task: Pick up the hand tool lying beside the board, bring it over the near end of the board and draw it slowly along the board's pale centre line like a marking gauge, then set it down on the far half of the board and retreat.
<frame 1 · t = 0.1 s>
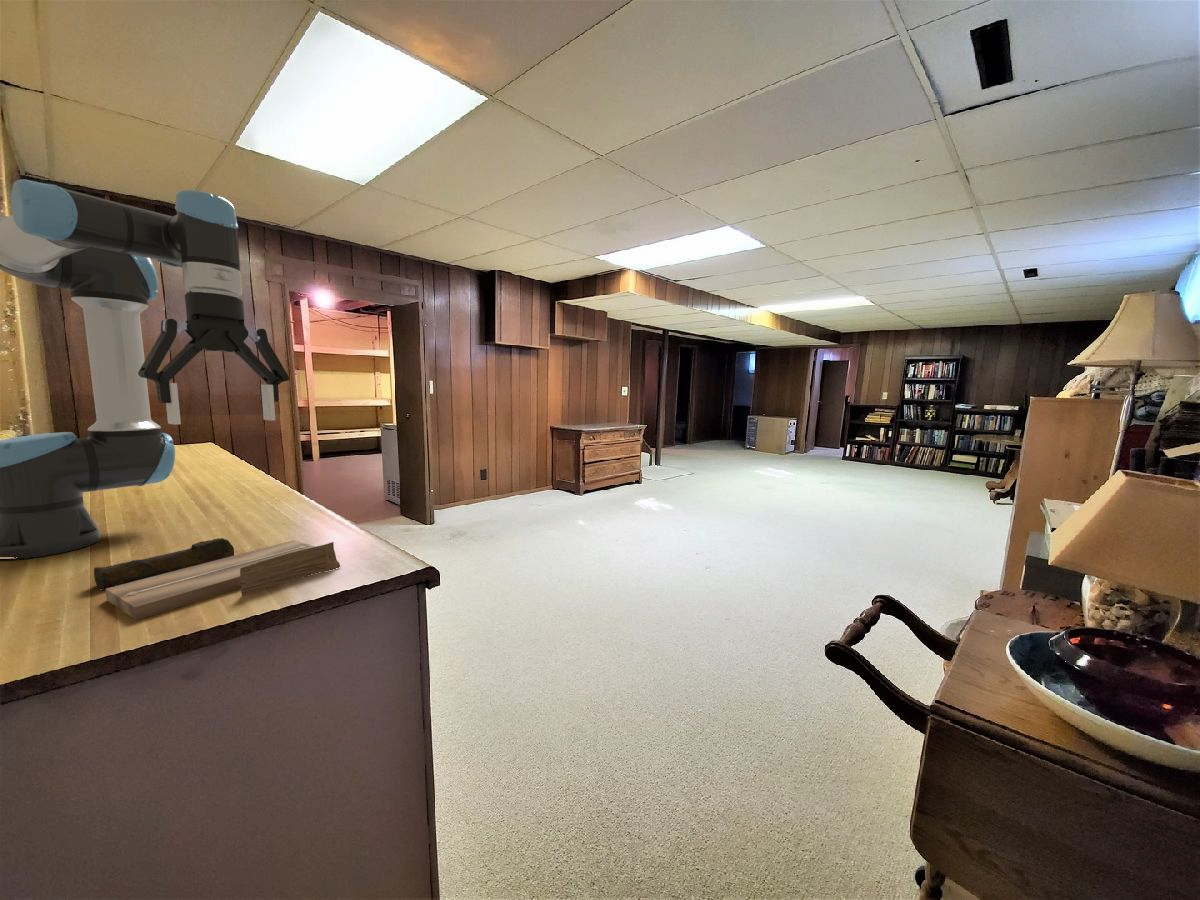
hand: (225, 422, 80), 28 cm above the table, tool pointing down, fingers open, 13 cm apart
wood plank: (293, 582, 82), on the table
board: (230, 578, 82), on the table
hand tool: (170, 573, 85), on the table
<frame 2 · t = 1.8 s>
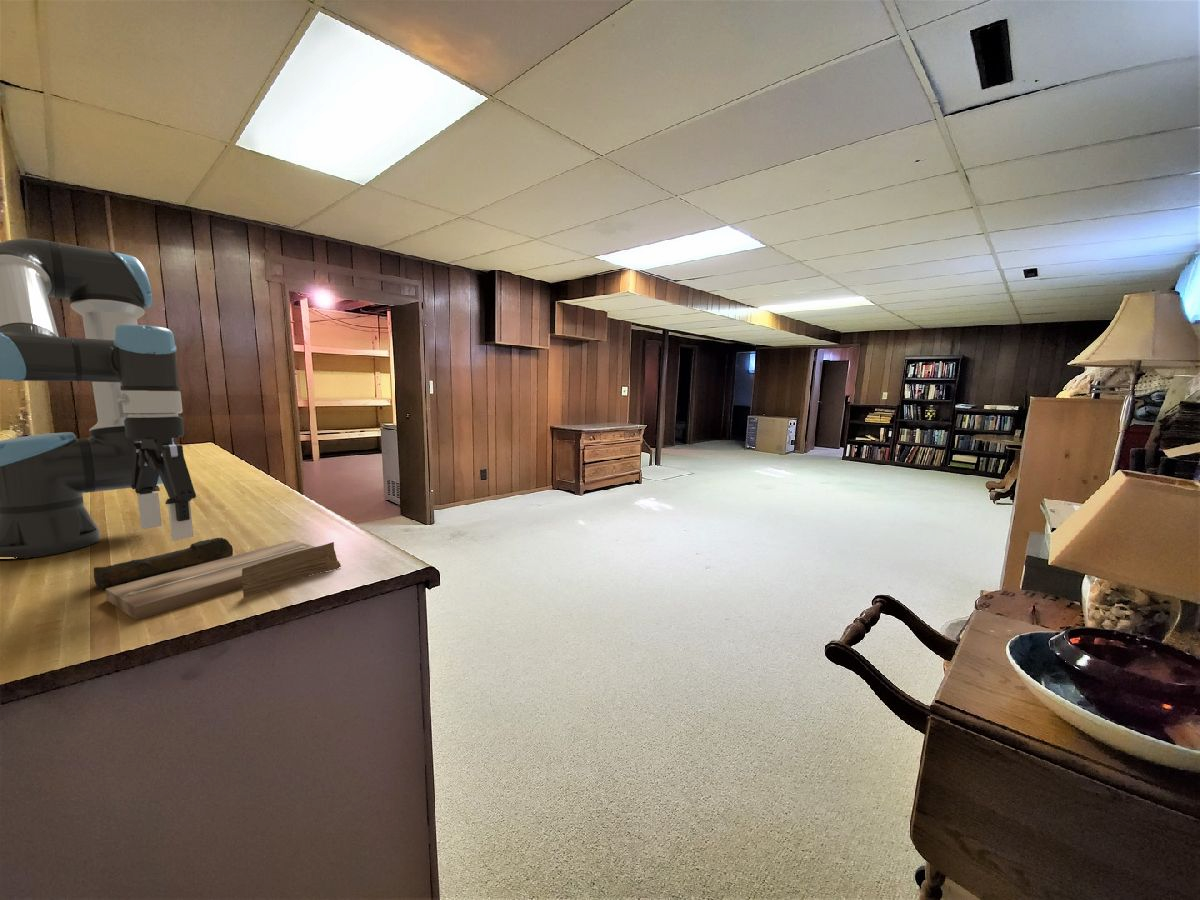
hand: (166, 532, 84), 7 cm above the table, tool pointing down, fingers open, 13 cm apart
nothing on the table moved.
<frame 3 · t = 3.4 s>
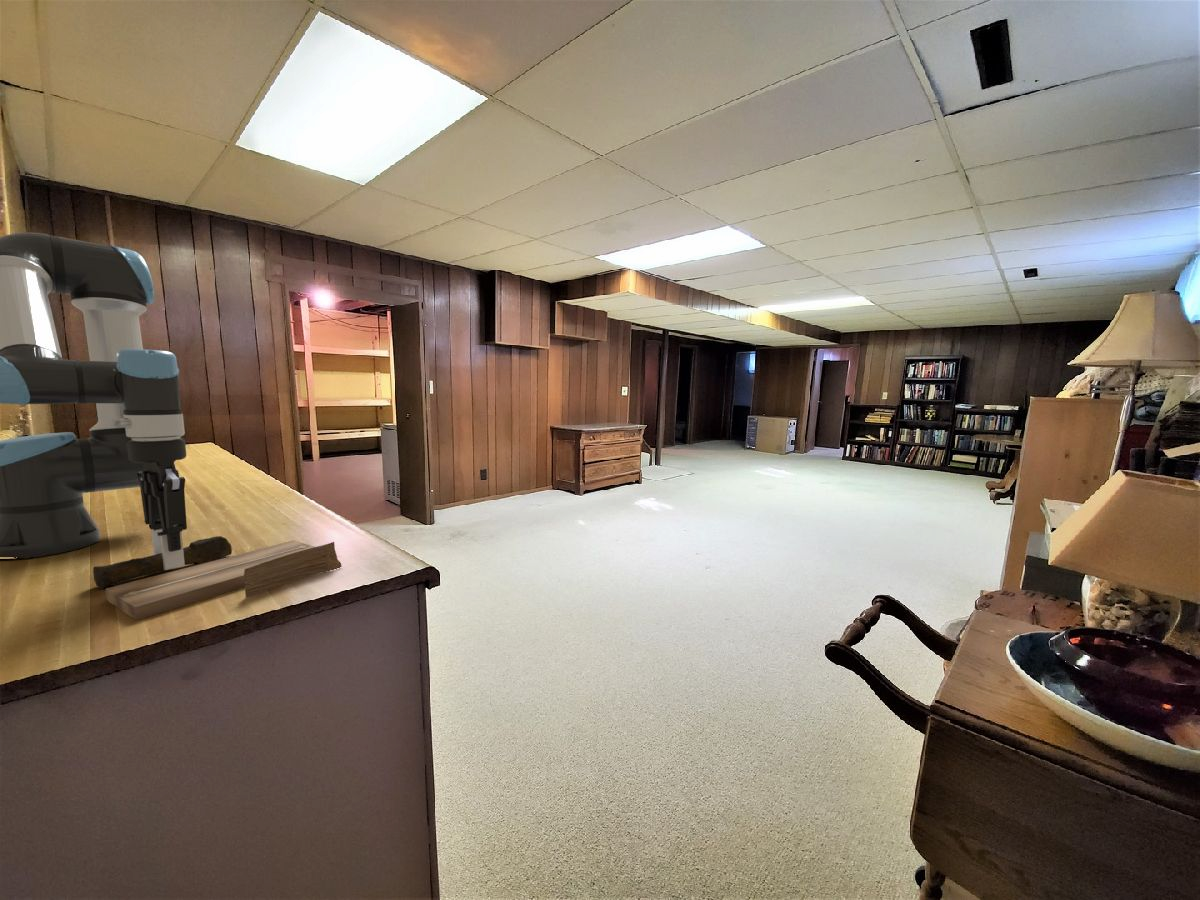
hand: (169, 564, 85), 1 cm above the table, tool pointing down, fingers closed on hand tool, 3 cm apart
hand tool: (169, 571, 85), on the table, touching gripper
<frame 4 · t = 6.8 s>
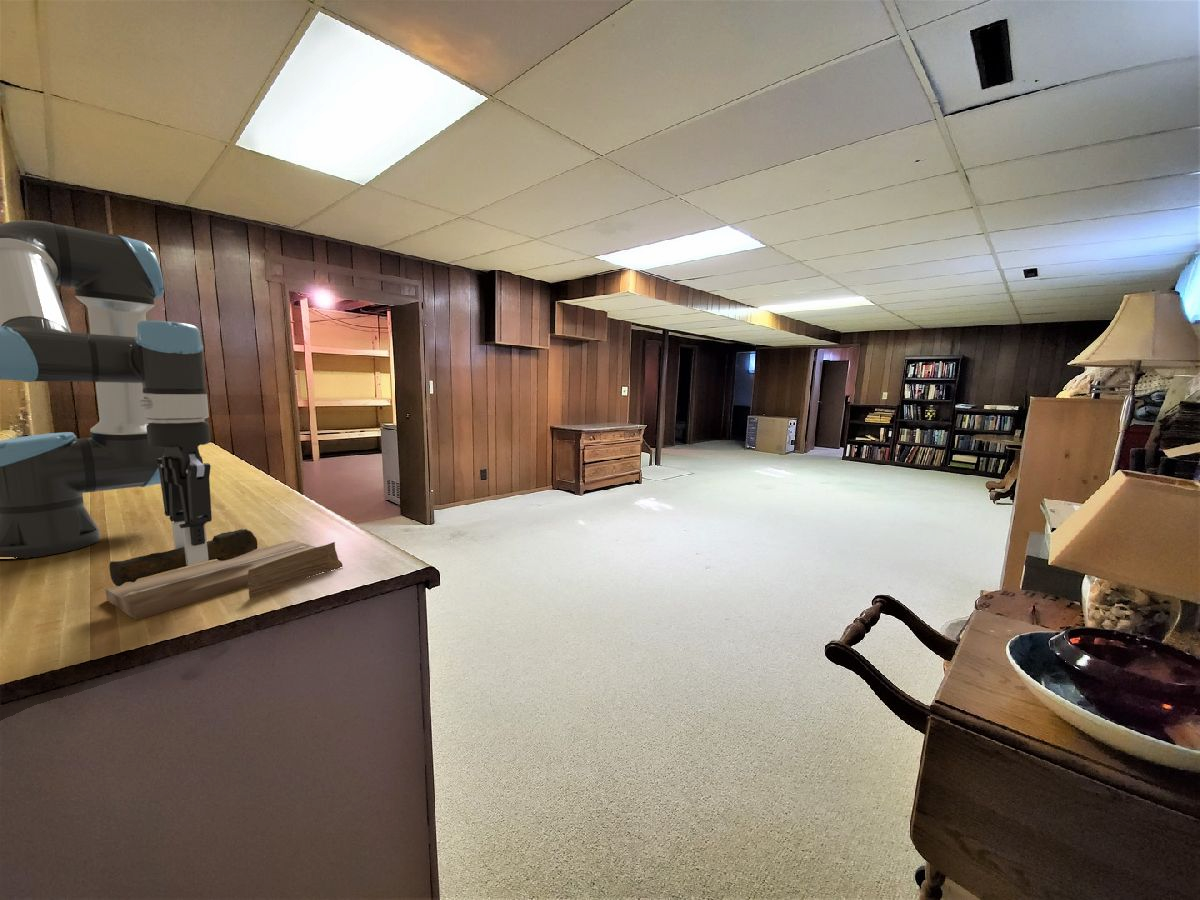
hand: (192, 560, 77), 5 cm above the table, tool pointing down, fingers closed on hand tool, 3 cm apart
hand tool: (191, 567, 78), point 4 cm above the table, touching gripper
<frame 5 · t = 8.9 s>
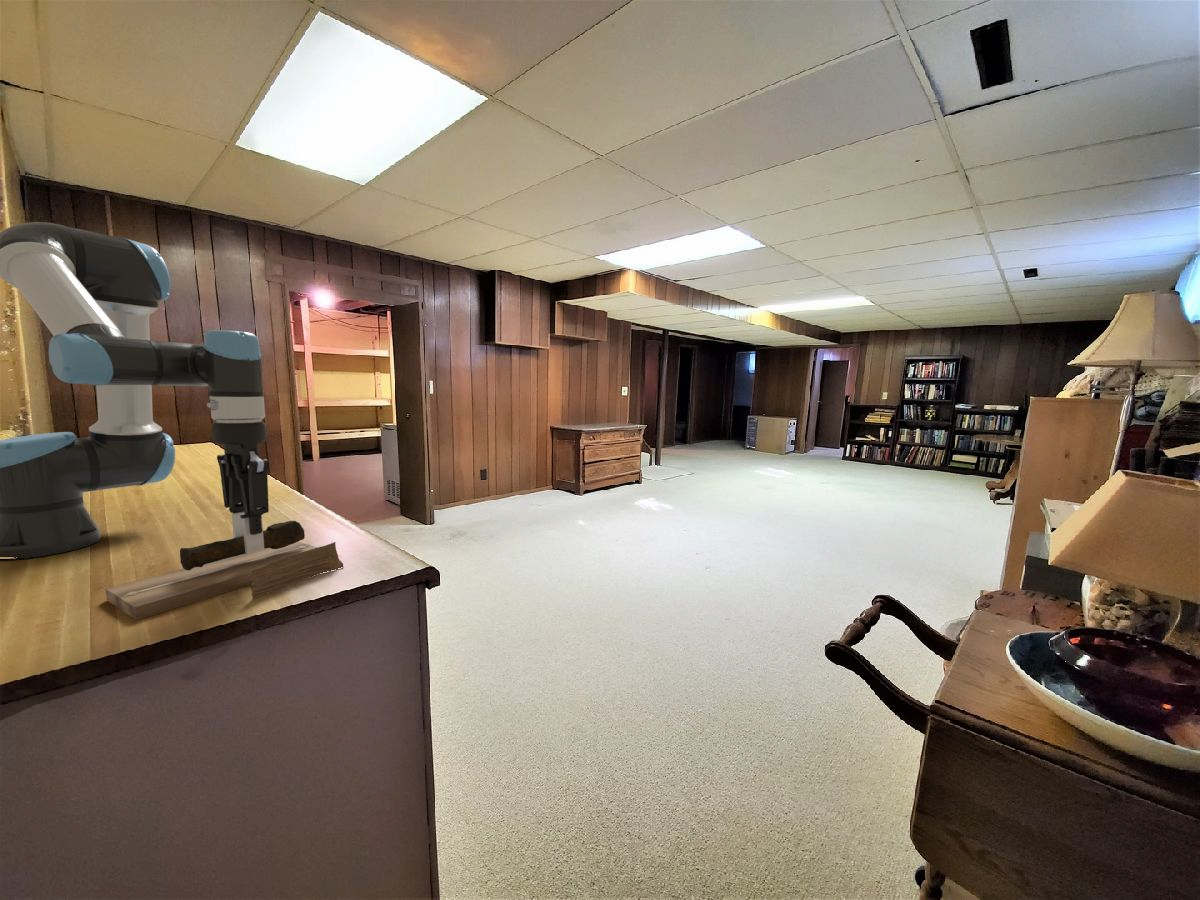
hand: (249, 548, 84), 5 cm above the table, tool pointing down, fingers closed on hand tool, 3 cm apart
hand tool: (248, 555, 85), point 3 cm above the table, touching gripper
when the fingers open (4 cm above the table, at t = 10.3 s): hand tool drops 1 cm, resting on board.
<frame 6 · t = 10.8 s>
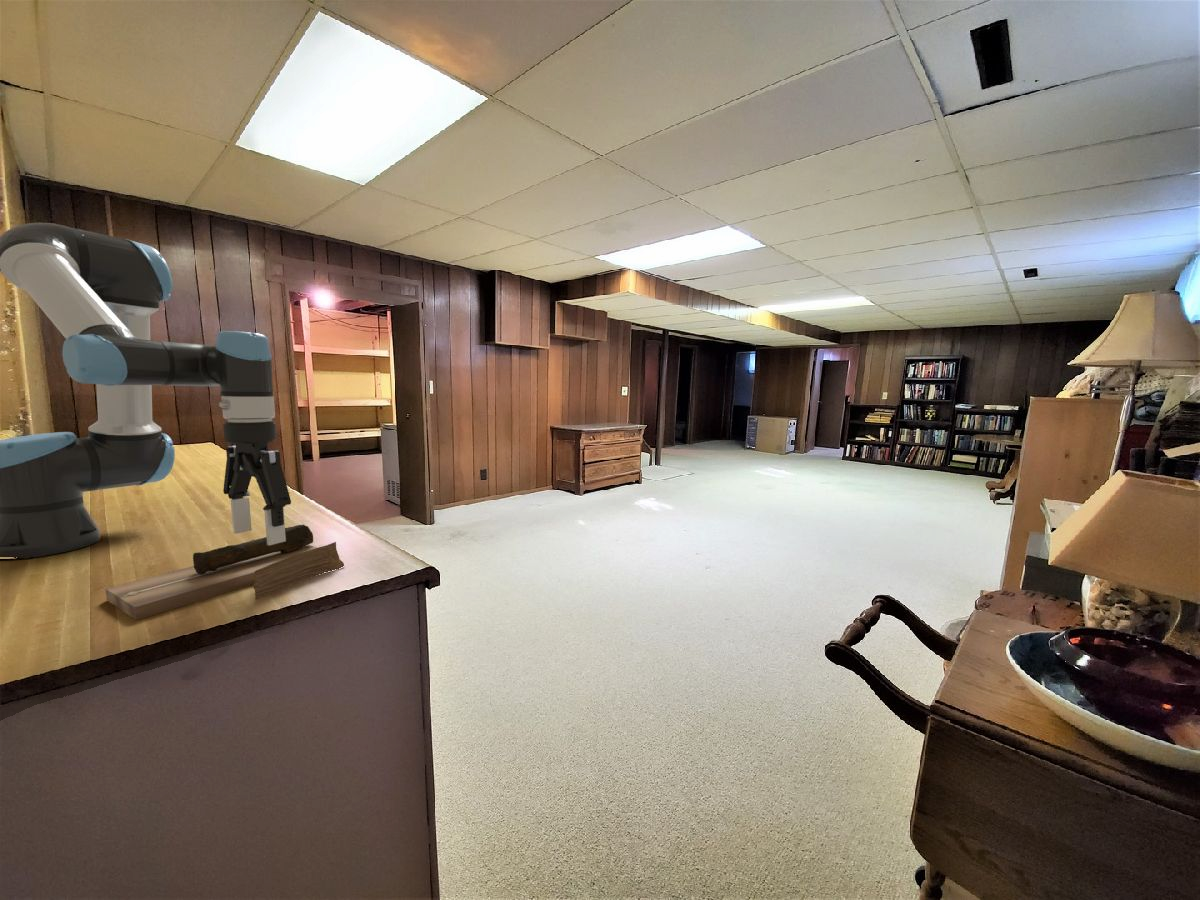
hand: (259, 537, 86), 6 cm above the table, tool pointing down, fingers open, 11 cm apart
hand tool: (259, 559, 86), point 2 cm above the table, touching board
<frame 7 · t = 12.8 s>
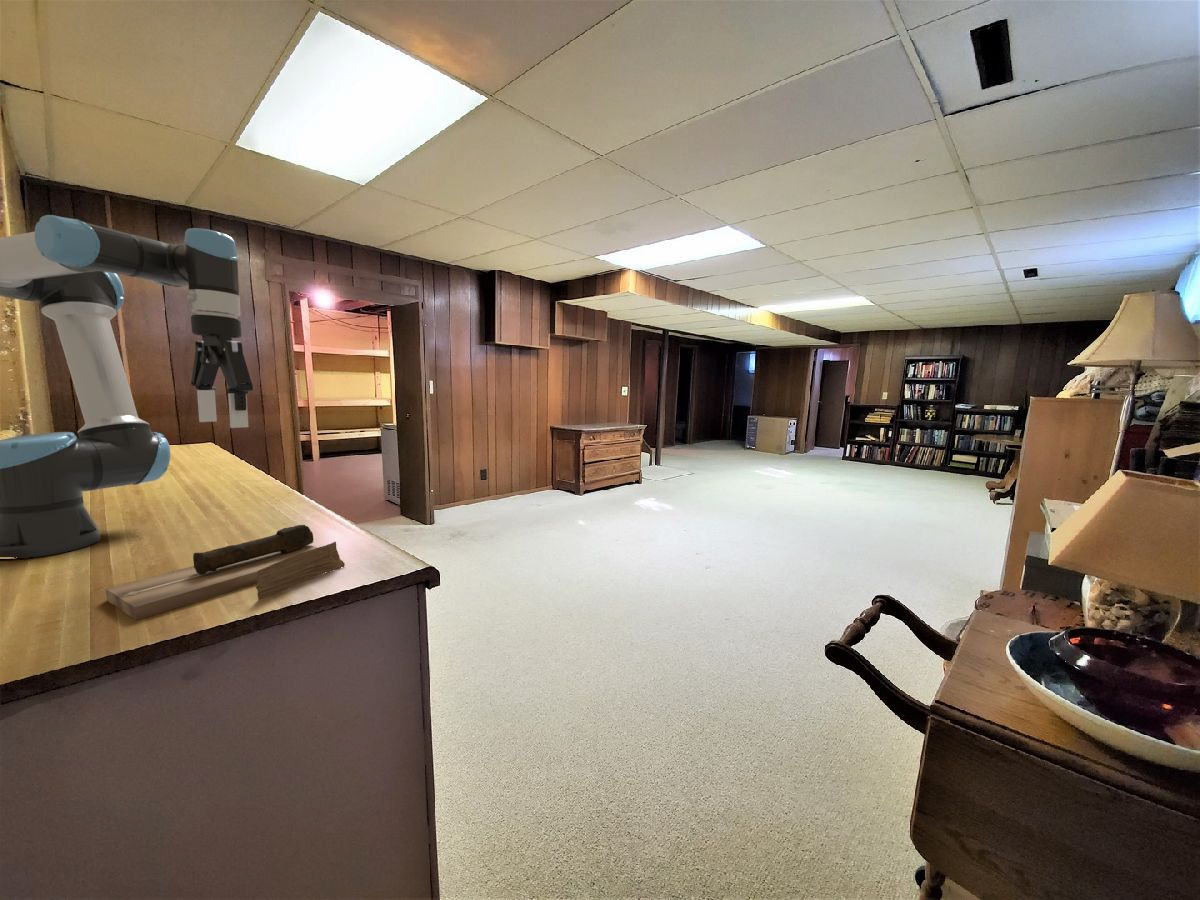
hand: (223, 424, 93), 26 cm above the table, tool pointing down, fingers open, 13 cm apart
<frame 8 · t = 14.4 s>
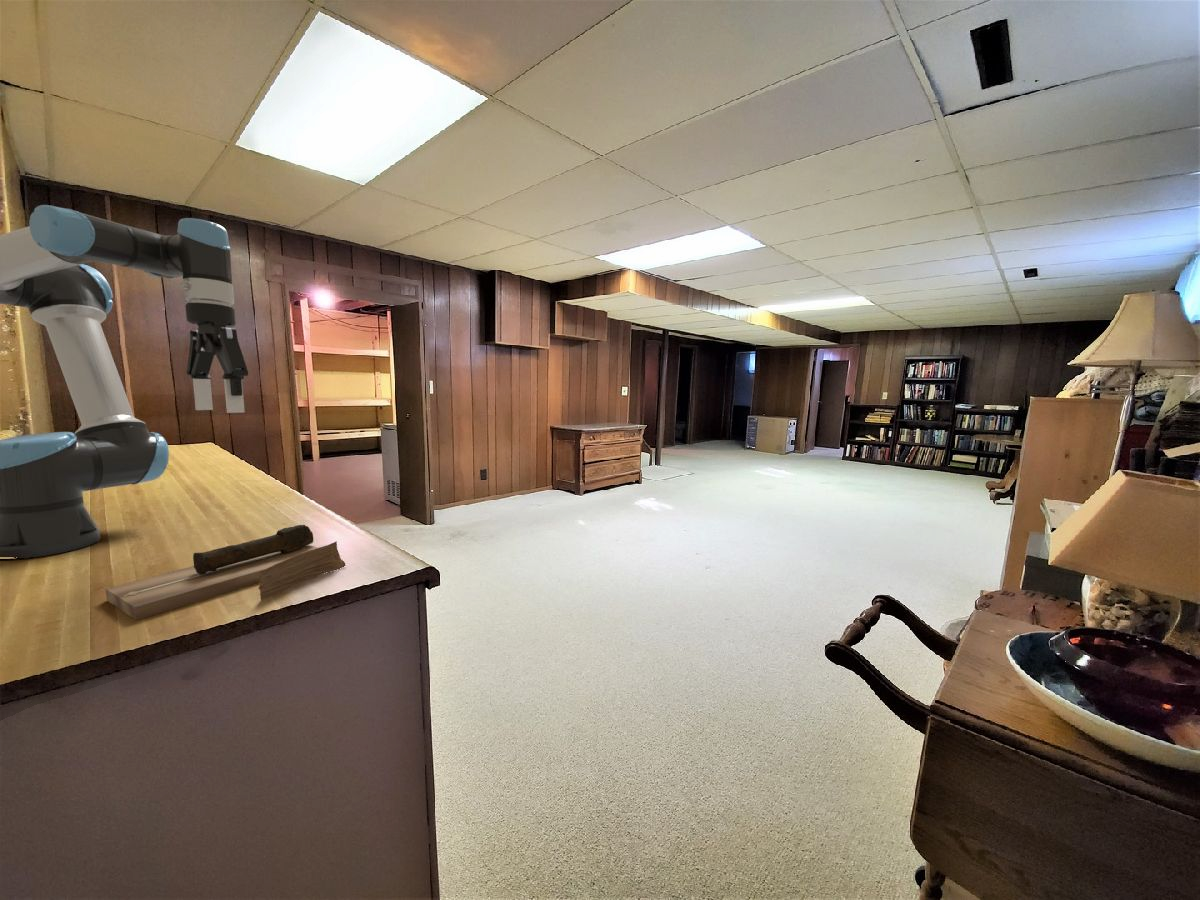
hand: (219, 411, 95), 29 cm above the table, tool pointing down, fingers open, 13 cm apart
at the end: hand tool inside the target area on the board (1.0 cm from its centre), point 1.9 cm above the board's base; hand tool moved 15.5 cm from its start; the gripper is holding nothing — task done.
